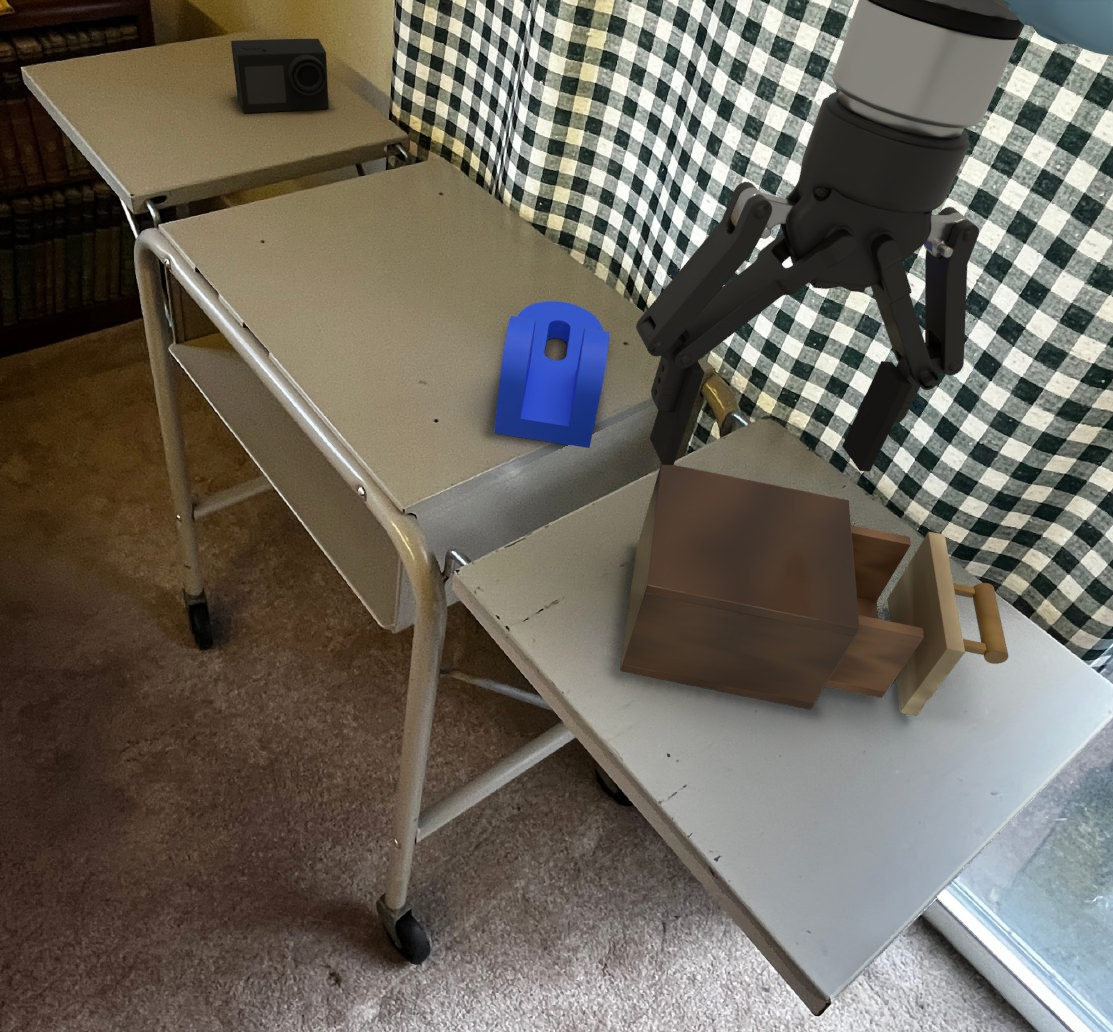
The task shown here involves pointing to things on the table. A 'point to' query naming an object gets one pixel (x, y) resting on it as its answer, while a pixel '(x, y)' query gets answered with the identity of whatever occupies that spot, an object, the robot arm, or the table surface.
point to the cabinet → (741, 587)
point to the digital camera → (280, 75)
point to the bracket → (552, 375)
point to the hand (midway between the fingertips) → (761, 455)
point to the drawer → (912, 621)
